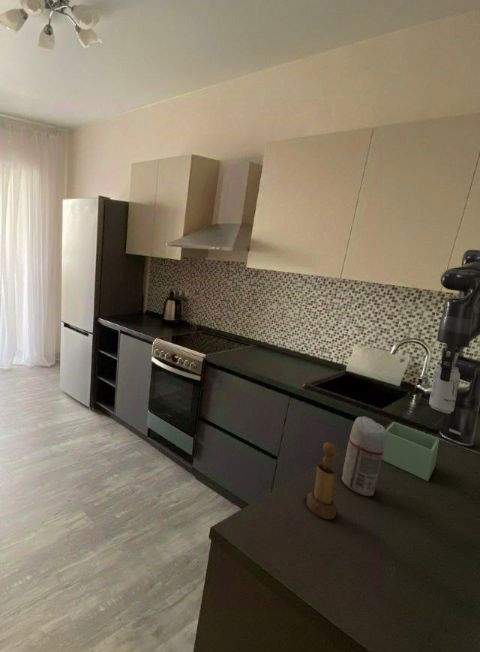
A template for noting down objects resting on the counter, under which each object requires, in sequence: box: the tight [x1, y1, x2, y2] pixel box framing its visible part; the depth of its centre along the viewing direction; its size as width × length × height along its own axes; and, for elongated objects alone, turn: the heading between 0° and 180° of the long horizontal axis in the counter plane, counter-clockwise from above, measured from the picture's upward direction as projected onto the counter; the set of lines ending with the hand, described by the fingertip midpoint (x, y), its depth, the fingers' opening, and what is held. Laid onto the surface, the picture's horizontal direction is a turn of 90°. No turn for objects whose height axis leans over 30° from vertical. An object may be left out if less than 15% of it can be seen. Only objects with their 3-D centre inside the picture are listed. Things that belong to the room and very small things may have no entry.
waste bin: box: [381, 421, 440, 482], centre depth 111 cm, size 12×12×10 cm
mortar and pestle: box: [306, 441, 338, 520], centre depth 86 cm, size 7×6×18 cm
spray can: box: [340, 416, 386, 497], centre depth 96 cm, size 8×8×20 cm
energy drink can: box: [428, 362, 460, 413], centre depth 110 cm, size 6×6×15 cm
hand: (445, 378), depth 110 cm, fingers closed on energy drink can, 6 cm apart
